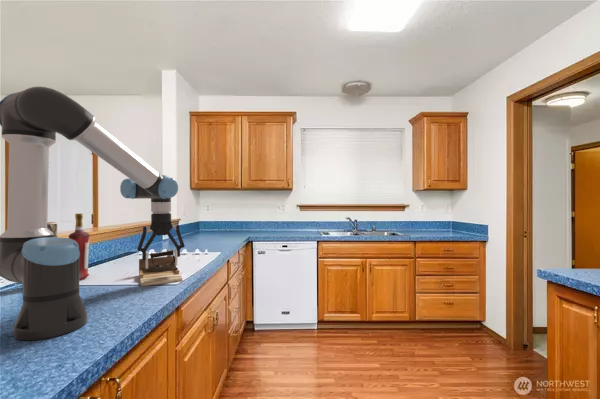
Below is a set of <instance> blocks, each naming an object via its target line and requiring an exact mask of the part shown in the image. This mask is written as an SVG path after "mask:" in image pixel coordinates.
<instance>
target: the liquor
mask: <svg viewBox="0 0 600 399" xmlns="http://www.w3.org/2000/svg"><path fill="white" fill-rule="evenodd" d="M74 215H75V225H74V226H75V227H74V232H72V233H70V234H69V235H68V238H69V239H73V240H75V241H76V242H77V243H78V245H79V251H80V257H79V281H82V279H83V280H86V279H87V278H88V277H89V276H90V274H89V255H90V254H89V252H90V236H91V235H90V233H88V232H87V231H84V224H83V219H84V213H75V214H74ZM85 278H86V279H85Z"/></svg>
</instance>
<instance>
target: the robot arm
mask: <svg viewBox="0 0 600 399" xmlns="http://www.w3.org/2000/svg"><path fill="white" fill-rule="evenodd" d="M0 126H1V137H2V139H4V140H5V141H6V142H7V143H8V144H9V145H8V180H7V182H8V186H7V188H8V189H7V223H6V224H7V229H6V230H5V231H4V232H3V233H1V234H0V277H1V278H3V279H5V280H7V281H9V282H12V283H18V284H19V283H20V284H22V305H21V307H20V310H19V312H18V315H17V318H16V321H15V323H14V325H13V338H14V339H16V340H20V341H36V340H43V339H50V338H54V337H59V336H62V335H65V333H66V334H68V332H69V333H71V332H73V331H76V330H78V329H80V328H82V327H84V326H85V325H86V324H87V322H88V312H87V309H86V308H85V305H84V303H83V300H82V298H81V294H80V280H79V257H80V251H79V245H78V243H77V242H76V241H75V240H73V239H69V237H58V236H57V237H54V233H53V232H51V231H50V230H49V229H48V228H47V222H48V213H49V212H48V210H49V208H48V205H49V202H48V201H49V168H50V167H49V164H50V161H49V158H50V147H52V146H53V145H54V144H56V139H57V138H56V137H57V136H56V134H59V135H61V136H63V137H64V138H66V139H67V140H69V141H76V142H77V143H79V144H80V145H82V146H83V147H85V148H86V149H87V150H89V151H90V152H92V153H93V154H94V155H96V156H97V157H99V159H101V160H103V161H104V162H106V163H107V164H108V165H110V166H111V167H113V168H114V169H116V170H117V171H119V172H120V173H121V174H123V175H124V176H125V177H127V178H125V179H123V180H122V181H121V182H120V186H119V187H120V193H121V194H120V195H121V196H122V197H123V198H125V199H131V200H135V199H139V200H140V199H144V200H145V199H150V212H151V215H150V220H151V221H150V222H151V223H150V225H149V226H148V225H147V226H146V225H145V226H142V234H141V237H140V239H139V243H138V246H137V248H136V249H137V251H138V252H142V254H141V256H142V258H141V259H143V260H146V269H148V258H149V252H148V251H147V250H148V249H149V247H150V246H151V244H152V242H153V241H154V240H155V238H156V237H157V236H158V237H159V236H167V237H168V238H169V240H170V241H171V242H172V243H173V245H174V247H175V248H174V249H173V252H174V256H175V265H176V266H178V258H179V257H181V249H184V248H185V247H186V246H185V243H184V239H183V238H182V234H181V232H180V225H179V224H172V213H171V212H172V198H174V197H175V196H176V195H177V194H178V191H179V184H178V181H177V180H176V179H175V178H173V177H170V175H167V174H166V175H164V174H161V173H160V172H158V171H157V170H156V169H154V168H153V167H152V166H151V165H150V164H148V162H146V161H145V160H143V159H142V158H141V157H140V156H139V155H137V154H136V153H135V152H133V151H132V150H131V149H130V148H129V147H128V146H126V145H125V144H124V143H123V142H121V141H120V140H118V138H116V137H115V136H114V135H112V134H111V133H110V132H109V131H108V130H106V129H105V128H104V127H103V126H101V124H98V122H96V117H95V115H93V114H92V113H91V112H90V111H89V110H87V109H86V108H85V107H84V106H82V105H81V104H80V103H78V102H77V101H75V100H74V99H73V98H71V97H70V96H68V95H67V94H65V93H62V92H61V91H58V90H56V89H53V88H51V87H45V86H32V87H28V88H25V89H24V90H22V91H21V90H20V91H18V92H14V93H10V94H7V95H6V96H5V97H3V98H2V99H1V100H0ZM172 229H173V230H174V231H175V234H176V236H177V239H178V241H179V242H177V241H176V239H175V238H174V236H173V235H172V233H171V230H172ZM149 230H151V232H152V233H151V235H150V237H149V238H148V240H147V242H146V243H145V245H144V242H145V239H146V236H147V232H149ZM178 243H179V244H178ZM143 245H144V246H143ZM142 247H143V248H142Z"/></svg>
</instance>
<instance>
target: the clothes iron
mask: <svg viewBox="0 0 600 399" xmlns="http://www.w3.org/2000/svg"><path fill="white" fill-rule="evenodd" d="M170 250H171V251H167V250H166V251H162V252H161V251H160V252H154V253H152V252H151V253H150V255H149V256H150V258H151V260H152V258H157V257H167V255H172V256H173V258H174V261H173V262H171V263H168V264H163V265H158V264H154V263H153V260H152V263H153V264H154V265H157V266H154V267H150V268H149V269H148V270H147V272H166V271H174V270H179V268H178V267H177V265H176V266H175V265H173V263H174V262H175V257H174V256H175V253H174V249H170Z"/></svg>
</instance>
